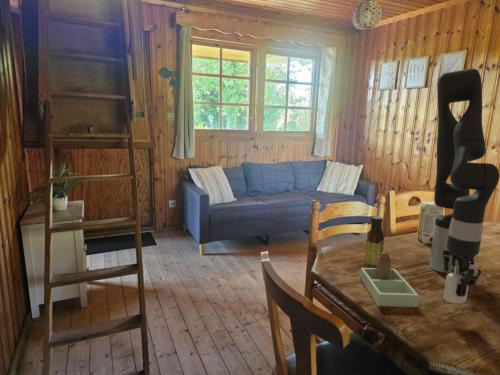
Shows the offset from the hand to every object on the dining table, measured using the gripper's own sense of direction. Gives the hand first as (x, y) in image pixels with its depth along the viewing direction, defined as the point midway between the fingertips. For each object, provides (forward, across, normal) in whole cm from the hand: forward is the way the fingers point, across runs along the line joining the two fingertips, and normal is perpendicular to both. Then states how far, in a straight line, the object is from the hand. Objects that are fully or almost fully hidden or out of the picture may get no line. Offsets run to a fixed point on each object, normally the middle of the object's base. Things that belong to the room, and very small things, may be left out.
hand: (455, 291), depth 92 cm
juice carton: (+10, +62, -25) cm, 67 cm away
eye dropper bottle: (+3, 0, 0) cm, 3 cm away
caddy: (+8, +14, +14) cm, 21 cm away
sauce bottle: (+9, +33, +11) cm, 36 cm away
